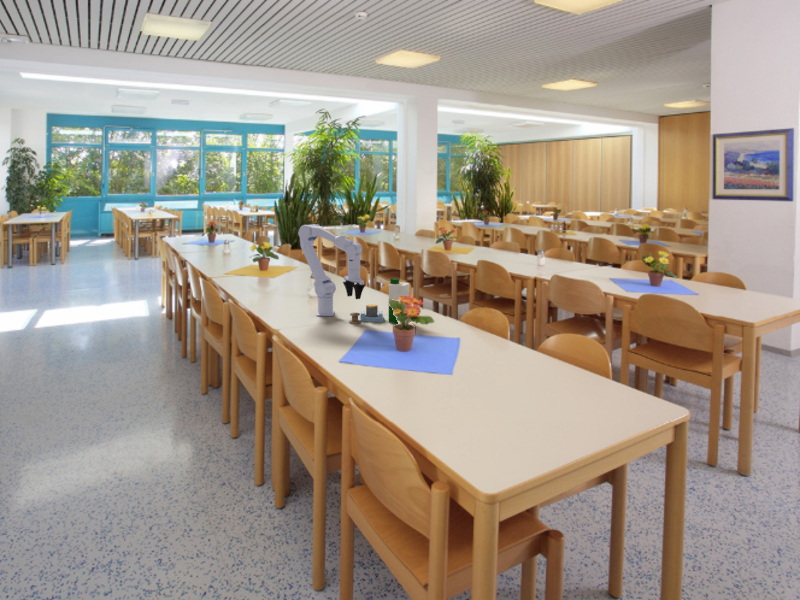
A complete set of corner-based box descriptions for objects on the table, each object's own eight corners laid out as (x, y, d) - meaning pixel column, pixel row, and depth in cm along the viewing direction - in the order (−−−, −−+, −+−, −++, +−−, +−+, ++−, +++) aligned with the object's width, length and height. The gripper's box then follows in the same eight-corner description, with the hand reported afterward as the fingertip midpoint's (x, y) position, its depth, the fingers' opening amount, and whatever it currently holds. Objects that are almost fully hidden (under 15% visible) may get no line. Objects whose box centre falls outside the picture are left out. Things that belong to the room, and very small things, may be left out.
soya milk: (392, 318, 267) (393, 277, 263) (410, 320, 264) (411, 278, 260) (386, 322, 259) (386, 279, 255) (404, 324, 256) (405, 281, 252)
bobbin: (349, 321, 260) (349, 312, 260) (360, 321, 261) (360, 312, 260) (348, 323, 255) (348, 314, 255) (360, 324, 256) (360, 315, 255)
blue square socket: (360, 317, 269) (360, 310, 268) (383, 317, 269) (383, 310, 269) (359, 321, 260) (359, 314, 259) (383, 321, 260) (383, 314, 260)
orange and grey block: (366, 315, 264) (366, 305, 263) (374, 314, 267) (374, 304, 266) (369, 317, 262) (369, 306, 261) (377, 316, 264) (377, 305, 263)
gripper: (338, 267, 266) (338, 295, 268) (354, 271, 254) (354, 301, 257) (351, 266, 270) (351, 294, 272) (367, 270, 258) (367, 299, 261)
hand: (353, 297), depth 265 cm, fingers open, 7 cm apart
